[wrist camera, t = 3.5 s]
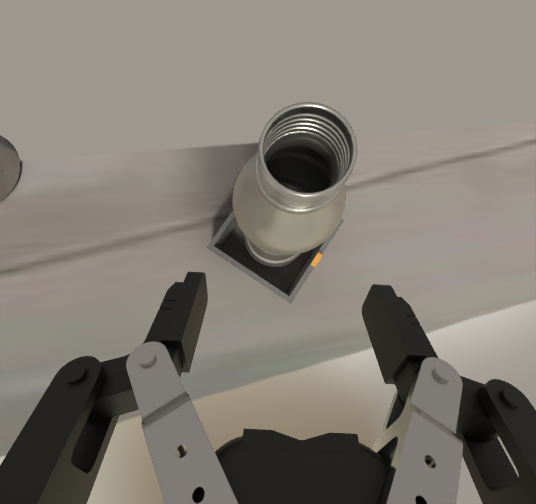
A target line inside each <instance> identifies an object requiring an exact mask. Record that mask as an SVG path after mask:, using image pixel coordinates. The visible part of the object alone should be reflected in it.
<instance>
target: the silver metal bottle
mask: <svg viewBox="0 0 536 504" xmlns="http://www.w3.org/2000/svg"><path fill="white" fill-rule="evenodd" d="M356 157H357V142H356V137H355V134H354V132H353V130H352V127H351V126H350V124H349V123H348V122H347V120H346V119H345V118H344V117H343V116H342V115H341V114H340V113H339V112H337V111H336V110H334V109H332V108H331V107H328V106H325V105H323V104H318V103H313V102H303V103H298V104H293V105H291V106H288V107H286V108H284V109H282V110H281V111H279V112H278V113H276V114H275V115H274V116H273V117H272V118H271V119H270V120H269V122H268V123H267V125H266V126H265V128H264V130H263V132H262V135H261V137H260V141H259V146H258V151H257V152H256V153H255V154H254V155H253V156H252V157H251V158H250V159H249V160H248V161H247V163H246V164H245V165H244V167H243V168H242V170H241V172H240V174H239V176H238V178H237V180H236V183H235V186H234V191H233V210H234V215H235V218H236V220H237V223H238V225H239V227H240V229H241V230H242V232H243V233H244V240H245V245H246V248H247V250H248V252H249V253H250V255H251V256H252V257H253V258H254V259H255V260H256V261H257V262H259V263H261V264H263V265H266V266H271V267H279V266H284V265H287V264H289V263H291V262H292V261H294V260H295V259H296V258H297V257H298V256H299V255H300V254H301V253H303V252H307V251H309V250H311V249H314V248H316V247H318V246H319V245H320V244H322V243H323V242H325V241H326V240H327V239H328V238H329V237H330V236H331V235H332V234H333V232H334V231H335V229H336V228H337V226H338V224H339V223H340V220H341V217H342V215H343V211H344V206H345V200H346V186H345V182H346V180H347V179H348V177H349V176H350V174H351V172H352V170H353V167H354V165H355V162H356Z"/></svg>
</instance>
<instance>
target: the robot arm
mask: <svg viewBox="0 0 536 504" xmlns="http://www.w3.org/2000/svg"><path fill="white" fill-rule="evenodd" d="M19 173H20V159H19V156H18V153H17V151H16V149H15V148H14V146H13V145H12V144H11V143H10V142H9V141H8V140H7V139H5V138H4V137H2V136H0V201H1V200H3V199H4V198H5V197H6V196H7V195H8V194H9V193H10V192H11V191H12V189H13V188H14V186H15V185H16V183H17V180H18V178H19ZM207 299H208V294H207V285H206V276H205V273H201V272H188V273H187V275H186V278H185V280H184V283H182V282H175V283H174V284H173V285H172V286H171V287H170V288H169V289H168V290H167V293H166V295H165V297H164V299H163V302H162V304H161V306H160V309H159V310H158V313H157V315H156V317H155V319H154V322H153V324H152V326H151V328H150V331H149V333H148V335H147V337H146V339H145V341H144V343H143V344H142V345H140V346H138V347H137V348H135V349H134V350H133V351H132V353H131V354H129V355H126V356H124V357H120V358H116V359H112V360H108V361H104V362H99V360H97V359H96V358H94V357H91V356H84V357H79V358H77V359H74V360H72V361H70V362H69V363H67V364H66V365H64V366H63V367H62V368H61V369H60V370H59V371H58V373H57V374H56V375H55V377H54V379H53V380H52V382H51V383H50V385H49V387H48V388H47V390H46V392H45V393H44V395H43V397H42V398H41V400H40V401H39V403H38V405H37V406H36V408H35V410H34V411H33V413H32V415H31V416H30V418H29V419H28V421H27V423H26V424H25V426H24V428H23V429H22V431H21V432H20V434H19V436H18V437H17V439H16V441H15V442H14V444H13V446H12V447H11V449H10V450H9V452H8V454H7V455H6V457H5V459H4V460H3V462H2V464H1V465H0V504H86V503H87V501H88V498H89V496H90V493H91V490H92V488H93V485H94V482H95V479H96V477H97V474H98V471H99V469H100V466H101V463H102V460H103V458H104V455H105V452H106V449H107V447H108V444H109V442H110V439H111V436H112V433H113V431H114V428H115V425H116V423H117V420H118V417H119V415H122V414H125V413H128V412H132V411H135V410H138V409H139V411H140V414H141V418H142V428H143V432H144V436H145V439H146V443H147V446H148V449H149V453H150V456H151V459H152V463H153V466H154V469H155V472H156V476H157V479H158V482H159V486H160V489H161V493H162V496H163V499H164V502H165V504H456V500H457V492H458V485H459V477H460V468H461V461H462V456H463V458H464V460H465V463H466V465H467V467H468V470H469V472H470V475H471V477H472V479H473V481H474V484H475V486H476V489H477V491H478V494H479V496H480V498H481V501H482V503H483V504H536V410H535V409H534V407H533V406H532V405H531V403H530V402H529V400H528V399H527V398H526V397H525V395H524V394H523V393H522V392H521V391H519V390H518V389H517V388H515V387H514V386H512V385H511V384H509V383H507V382H505V381H502V380H497V379H493V380H490V381H488V382H487V383H486V384H482V383H479V382H476V381H473V380H470V379H467V378H465V377H462V376H460V375H459V374H458V373H457V371H456V370H455V369H454V368H453V367H452V366H451V365H449V364H448V363H447V362H445V361H443V360H441V359H439V358H438V357H437V355H436V353H435V351H434V349H433V347H432V346H431V344H430V342H429V340H428V338H427V336H426V334H425V333H424V331H423V329H422V327H421V326H420V323H419V321H418V320H417V318H415V314H414V312H413V310H412V308H411V307H410V305H409V304H408V303H407V302H406V301H405V300H404V299H403V298H402V297H397V296H396V294H395V292H394V290H393V288H392V287H391V286H390V285H376V284H374V285H372V287H371V289H370V291H369V293H368V295H367V297H366V299H365V301H364V303H363V306H362V316H363V319H364V322H365V325H366V328H367V331H368V334H369V337H370V340H371V343H372V346H373V349H374V352H375V355H376V358H377V361H378V364H379V367H380V370H381V373H382V376H383V379H384V382H385V384H395V385H396V388H397V391H396V393H395V395H394V397H393V400H392V403H391V406H390V409H389V411H388V414H387V417H386V420H385V422H384V425H383V428H382V431H381V433H380V435H379V437H378V438H377V440H376V441H375V443H374V445H373V447H372V449H370V448H369V447H367V446H365V445H363V444H361V443H359V441H358V436H357V434H344V433H327V434H324V435H320V436H317V437H313V438H310V439H306V440H298V439H295V438H292V437H289V436H286V435H284V434H281V433H278V432H276V431H273V430H257V429H244V432H243V436H242V437H238V438H235V439H233V440H231V441H229V442H227V443H226V444H224V445H223V446H221V447H220V448H219V449H218V450H217V451H216V452H214V449H213V448H212V445H211V443H210V441H209V438H208V436H207V434H206V432H205V430H204V427H203V425H202V423H201V421H200V419H199V416H198V415H197V412H196V410H195V408H194V405H193V403H192V401H191V399H190V397H189V395H188V394H187V393H186V391H185V388H184V386H183V384H182V382H181V380H180V376H181V373H182V372H189V371H190V367H191V363H192V360H193V356H194V352H195V348H196V345H197V341H198V337H199V333H200V329H201V326H202V322H203V318H204V314H205V310H206V307H207ZM497 437H500V439H501V440H502V442H503V444H504V446H505V448H506V450H507V452H508V453H509V455H510V457H511V459H512V460H513V463H514V465H515V466H516V468H517V471H518V474H519V478H518V476H517V474H516V472H515V470H514V468H513V466H512V465H511V463H510V461H509V459H508V457H507V455H506V453H505V451H504V449H503V448H502V446H501V444H500V442H499V440H498V438H497Z"/></svg>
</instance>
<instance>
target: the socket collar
mask: <svg viewBox="0 0 536 504" xmlns="http://www.w3.org/2000/svg"><path fill="white" fill-rule="evenodd" d="M342 222H343V220H342V219H341V220H340V223H339V224H338V226H337V228H336V229H335V231H334V232H333V234H332V235H331V236H330V237H329V238H328V239H327V240H326V241H325V242H323V243H322V244H320V245H319V246H318V247H316V248H315V250H314V251H313V253H312V254H311V256H310V257H309V259H308V260H307V262H306V264H305V265H304V267H303V268H302V270H301V271H300V273H299V274H298V276H297V278H296V279H295V281H294V282H293V284H292V285H291V287H290V288H289V290H288V292H287V293H286V294H285V293H284V292H282V291H281V290H279V289H278V288H276V287H275V286H273V285H272V284H270V283H269V282H267V281H266V280H264V279H263V278H261V277H260V276H258V275H257V274H255V273H254V272H252V271H251V270H249V269H248V268H246V267H245V266H243V265H242V264H240V263H239V262H237V261H236V260H234V259H233V258H231V257H230V256H228V255H227V254H225V253H224V252H222V251H221V250H220V248H221V247H222V245H223V244H224V242H225V241H226V240H227V238H228V237H229V235H230V234H231V232H232V231H233V229H234V228H235V227H236V225H237V224H238V223H237V220H236V218H235V215H234V210H232V212H231V213H230V215H229V216H228V218H227V219H226V220H225V222H224V223H223V225H222V226H221V227H220V229H219V230H218V232H217V233H216V235H215V236H214V237H213V239H212V240H211V242H210V243H209V245H208V246H207V248H208V249H210V250H211V251H213V252H214V253H216V254H217V255H219V256H220V257H222V258H223V259H225V260H226V261H228V262H229V263H231V264H232V265H234V266H235V267H237V268H238V269H240V270H241V271H243V272H244V273H246V274H247V275H249V276H250V277H252V278H253V279H255V280H256V281H258V282H259V283H261V284H262V285H264V286H265V287H267V288H268V289H270V290H271V291H273V292H274V293H276V294H277V295H279V296H280V297H282V298H283V299H285V300H286V301H288V302H289V303H292V301H293V300H294V298H295V296H296V295H297V293H298V292H299V290H300V289H301V287H302V285H303V284H304V282H305V281H306V279H307V278H308V276H309V274H310V273H311V271H312V270H313V268H314V267H315V266H316V265H317V263H318V261H319V260H320V258H321V257H322V254H323V252H324V251H325V249H326V248H327V246H328V245H329V243H330V241H331V240H332V238H333V237H334V235H335V234H336V232H337V230H338V229H339V227H340V226H341V224H342Z"/></svg>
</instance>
